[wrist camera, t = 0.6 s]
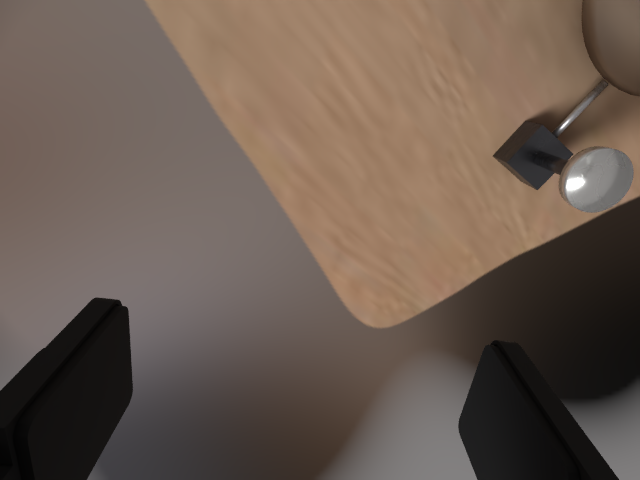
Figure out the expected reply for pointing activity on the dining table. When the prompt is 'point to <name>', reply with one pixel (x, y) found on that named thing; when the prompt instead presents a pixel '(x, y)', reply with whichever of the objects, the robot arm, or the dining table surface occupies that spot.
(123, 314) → the robot arm
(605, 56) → the turntable
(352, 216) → the dining table surface
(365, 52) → the dining table surface
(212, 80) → the dining table surface
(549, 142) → the lever with ball knob
